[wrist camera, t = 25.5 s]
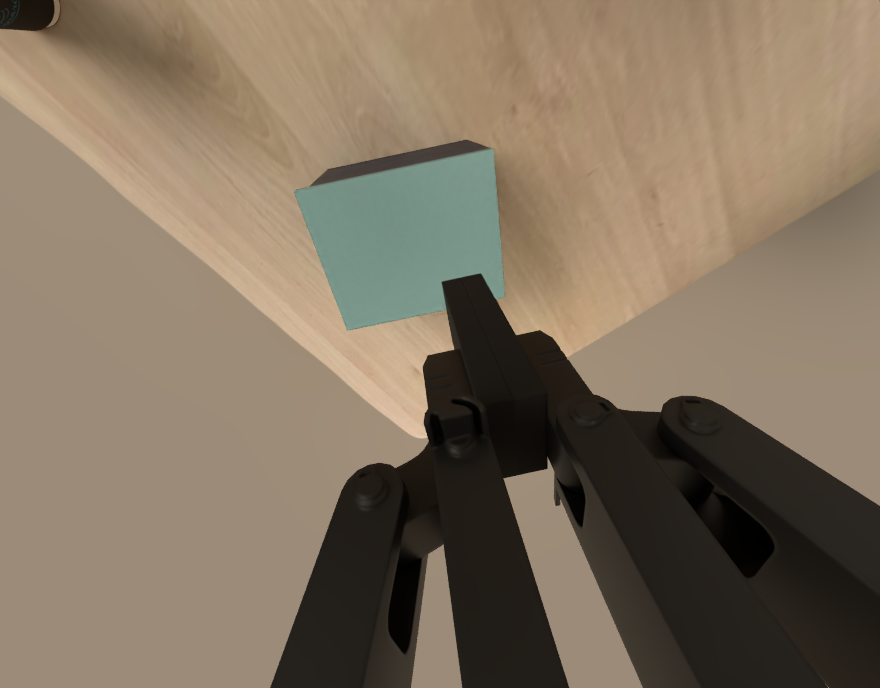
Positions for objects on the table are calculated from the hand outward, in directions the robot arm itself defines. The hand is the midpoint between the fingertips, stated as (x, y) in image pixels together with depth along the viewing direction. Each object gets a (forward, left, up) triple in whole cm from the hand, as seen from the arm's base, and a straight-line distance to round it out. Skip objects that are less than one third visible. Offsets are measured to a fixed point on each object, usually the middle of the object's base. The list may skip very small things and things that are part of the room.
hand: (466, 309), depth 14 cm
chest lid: (-2, -4, -21) cm, 21 cm away
